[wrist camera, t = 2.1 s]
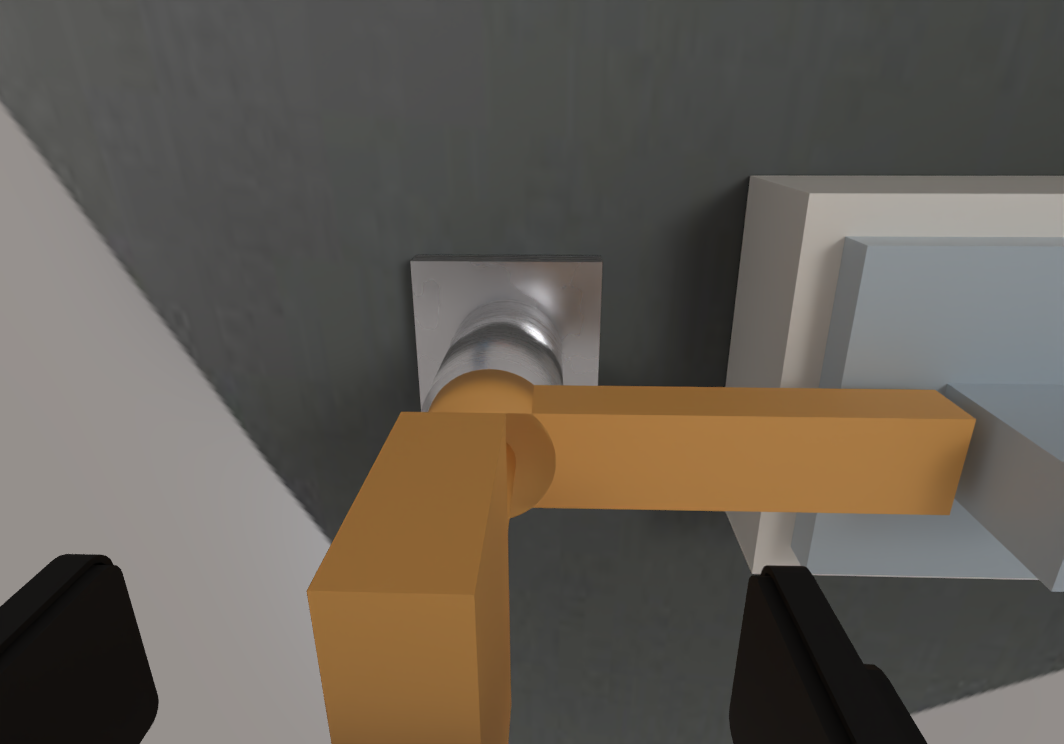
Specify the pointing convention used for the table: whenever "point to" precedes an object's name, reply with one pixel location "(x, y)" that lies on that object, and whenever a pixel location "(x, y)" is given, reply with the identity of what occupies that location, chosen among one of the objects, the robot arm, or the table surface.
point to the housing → (812, 273)
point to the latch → (575, 482)
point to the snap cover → (956, 401)
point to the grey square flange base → (506, 318)
